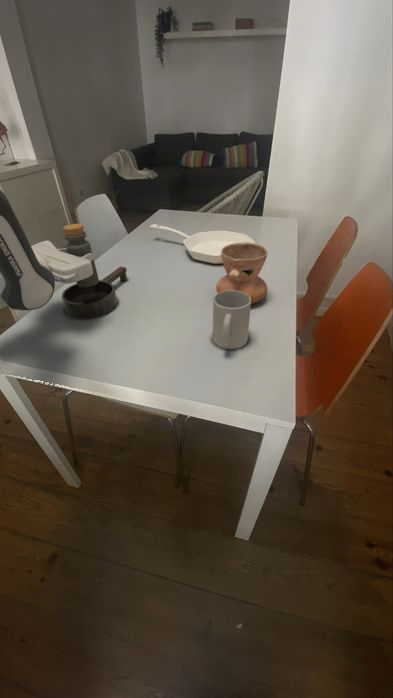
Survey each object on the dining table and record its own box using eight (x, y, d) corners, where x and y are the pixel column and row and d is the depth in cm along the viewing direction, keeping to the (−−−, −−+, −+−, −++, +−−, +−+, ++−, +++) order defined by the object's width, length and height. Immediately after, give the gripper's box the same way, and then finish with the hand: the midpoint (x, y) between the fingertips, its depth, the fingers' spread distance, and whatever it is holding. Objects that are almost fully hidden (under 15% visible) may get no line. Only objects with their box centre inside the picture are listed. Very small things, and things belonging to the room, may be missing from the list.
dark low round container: (55, 313, 88) (50, 299, 85) (86, 290, 98) (83, 277, 96) (98, 323, 84) (94, 308, 81) (126, 298, 94) (124, 284, 91)
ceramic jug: (256, 316, 84) (262, 266, 76) (206, 306, 89) (206, 257, 81) (273, 288, 97) (279, 241, 88) (228, 280, 102) (230, 235, 93)
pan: (234, 272, 107) (235, 253, 103) (133, 249, 125) (131, 233, 121) (262, 247, 124) (264, 231, 120) (170, 231, 142) (169, 216, 138)
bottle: (96, 276, 90) (82, 221, 81) (101, 284, 85) (87, 226, 77) (75, 281, 87) (58, 225, 79) (79, 289, 83) (62, 231, 74)
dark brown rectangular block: (103, 293, 97) (100, 280, 94) (122, 278, 105) (120, 266, 102) (109, 295, 96) (106, 281, 93) (128, 279, 104) (126, 267, 101)
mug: (216, 327, 81) (216, 288, 74) (249, 331, 79) (253, 291, 73) (205, 356, 72) (205, 314, 65) (243, 361, 70) (247, 319, 63)
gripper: (57, 268, 66) (107, 248, 75) (5, 250, 76) (54, 234, 85) (66, 295, 70) (112, 273, 79) (15, 274, 80) (61, 256, 89)
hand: (82, 252), depth 82 cm, fingers closed on bottle, 6 cm apart
